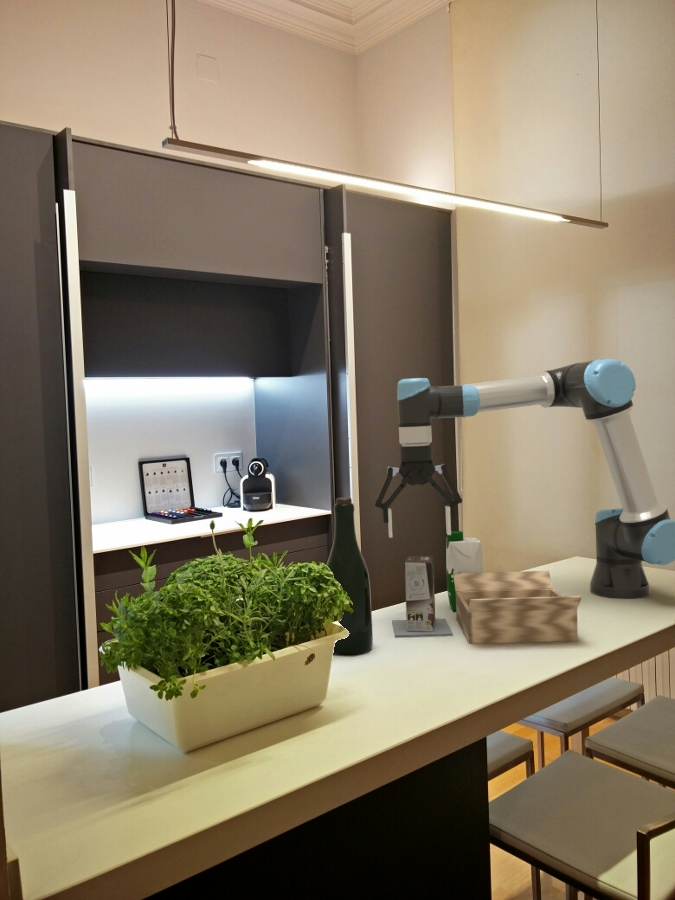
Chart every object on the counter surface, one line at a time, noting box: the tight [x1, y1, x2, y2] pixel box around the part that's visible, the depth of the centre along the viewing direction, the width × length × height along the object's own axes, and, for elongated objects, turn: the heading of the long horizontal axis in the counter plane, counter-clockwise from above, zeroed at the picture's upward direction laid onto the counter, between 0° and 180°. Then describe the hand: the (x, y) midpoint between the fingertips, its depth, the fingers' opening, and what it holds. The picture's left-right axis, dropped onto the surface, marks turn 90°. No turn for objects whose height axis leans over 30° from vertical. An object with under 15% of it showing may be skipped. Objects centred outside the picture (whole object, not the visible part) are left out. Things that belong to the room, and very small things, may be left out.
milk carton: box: [445, 530, 484, 613], centre depth 194 cm, size 9×9×20 cm
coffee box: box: [404, 555, 436, 632], centre depth 177 cm, size 9×6×16 cm
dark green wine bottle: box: [326, 497, 374, 656], centre depth 163 cm, size 10×10×33 cm
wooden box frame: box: [453, 570, 583, 645], centre depth 174 cm, size 24×27×11 cm
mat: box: [391, 618, 454, 638], centre depth 177 cm, size 13×13×1 cm
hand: (419, 535), depth 176 cm, fingers open, 13 cm apart
